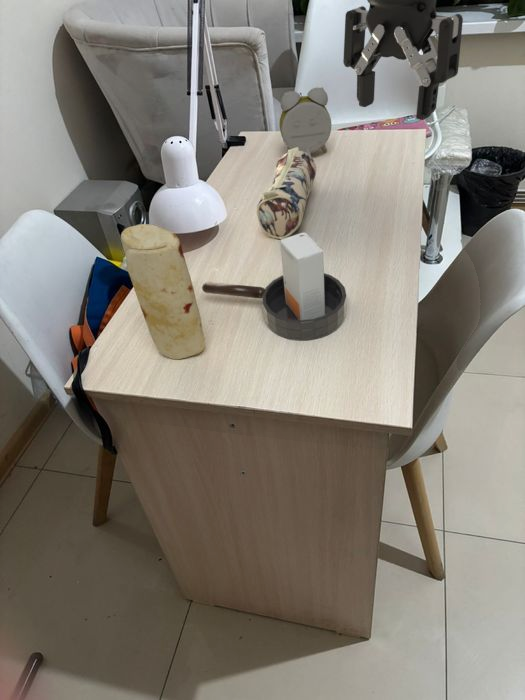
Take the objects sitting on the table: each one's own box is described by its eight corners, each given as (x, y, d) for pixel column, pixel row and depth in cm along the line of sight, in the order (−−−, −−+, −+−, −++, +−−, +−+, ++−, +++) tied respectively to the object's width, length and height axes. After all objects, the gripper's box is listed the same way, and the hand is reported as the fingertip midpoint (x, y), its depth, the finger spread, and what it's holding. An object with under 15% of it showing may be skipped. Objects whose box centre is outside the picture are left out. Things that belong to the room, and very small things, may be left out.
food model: (217, 341, 78) (191, 225, 64) (192, 370, 74) (158, 252, 60) (167, 325, 82) (132, 212, 68) (140, 351, 78) (98, 237, 64)
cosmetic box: (284, 304, 82) (278, 239, 74) (308, 295, 83) (305, 230, 75) (301, 325, 78) (296, 259, 70) (326, 316, 79) (324, 250, 70)
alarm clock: (328, 148, 125) (327, 82, 115) (333, 160, 120) (333, 91, 110) (281, 155, 125) (276, 89, 115) (284, 166, 120) (279, 99, 110)
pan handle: (268, 294, 81) (266, 285, 80) (264, 301, 80) (263, 292, 79) (205, 288, 84) (203, 279, 83) (201, 294, 83) (199, 285, 82)
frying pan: (352, 292, 83) (352, 274, 81) (337, 345, 74) (337, 327, 72) (276, 285, 87) (274, 267, 84) (254, 335, 78) (251, 317, 76)
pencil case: (302, 241, 96) (299, 193, 89) (258, 240, 98) (252, 193, 91) (317, 187, 111) (316, 142, 104) (279, 187, 113) (275, 143, 106)
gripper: (328, -49, 54) (330, 110, 66) (447, -49, 46) (426, 133, 57) (372, -60, 58) (367, 93, 69) (490, -63, 50) (463, 112, 61)
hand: (394, 111), depth 63 cm, fingers open, 8 cm apart
